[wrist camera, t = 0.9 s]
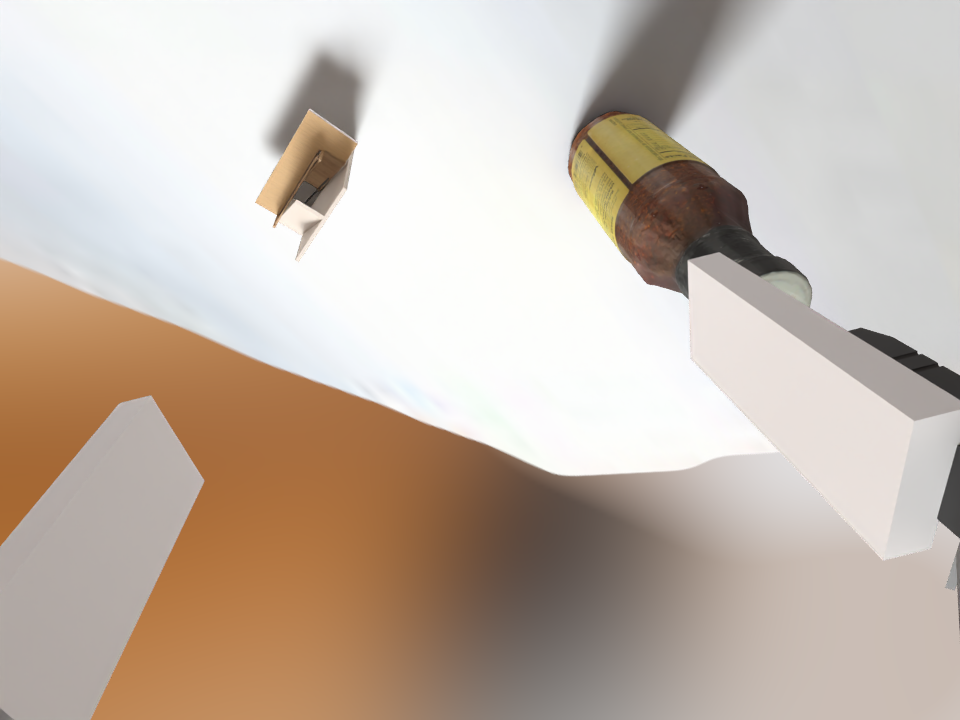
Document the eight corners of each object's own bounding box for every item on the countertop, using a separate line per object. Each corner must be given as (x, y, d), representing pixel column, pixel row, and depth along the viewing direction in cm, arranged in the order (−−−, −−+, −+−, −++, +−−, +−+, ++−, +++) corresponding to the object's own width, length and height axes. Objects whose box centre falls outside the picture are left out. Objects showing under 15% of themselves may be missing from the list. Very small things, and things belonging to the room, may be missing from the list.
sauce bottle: (605, 213, 40) (730, 403, 25) (545, 162, 37) (646, 343, 22) (676, 141, 37) (864, 307, 22) (617, 79, 34) (789, 223, 19)
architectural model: (265, 181, 36) (240, 233, 31) (316, 92, 33) (299, 131, 28) (312, 209, 38) (296, 264, 32) (365, 127, 35) (358, 171, 29)
